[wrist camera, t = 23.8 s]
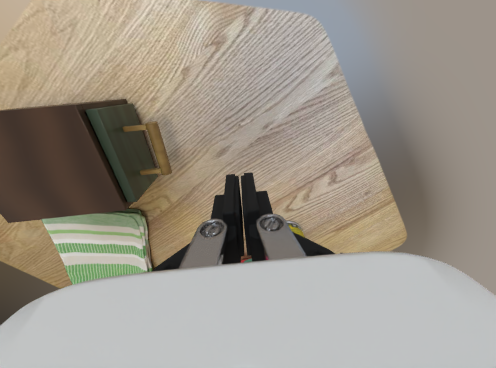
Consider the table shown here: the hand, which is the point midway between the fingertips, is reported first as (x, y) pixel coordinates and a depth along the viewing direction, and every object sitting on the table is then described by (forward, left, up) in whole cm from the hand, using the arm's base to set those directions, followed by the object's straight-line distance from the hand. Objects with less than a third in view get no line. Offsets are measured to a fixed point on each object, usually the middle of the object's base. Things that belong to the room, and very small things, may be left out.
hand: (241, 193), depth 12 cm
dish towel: (+22, -29, -20) cm, 42 cm away
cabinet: (0, -22, -20) cm, 30 cm away
